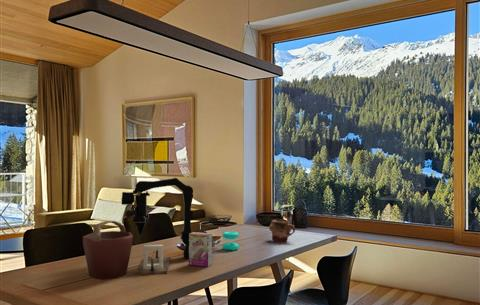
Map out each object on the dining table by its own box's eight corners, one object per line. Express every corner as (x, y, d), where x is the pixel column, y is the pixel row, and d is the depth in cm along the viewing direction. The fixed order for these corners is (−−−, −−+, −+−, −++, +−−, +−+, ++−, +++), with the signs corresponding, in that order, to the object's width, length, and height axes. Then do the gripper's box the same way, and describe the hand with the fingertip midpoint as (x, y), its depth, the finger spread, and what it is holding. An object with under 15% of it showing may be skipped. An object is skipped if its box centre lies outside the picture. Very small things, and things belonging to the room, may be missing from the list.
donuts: (221, 233, 261) (223, 231, 271) (221, 250, 261) (223, 247, 271) (237, 234, 260) (239, 231, 270) (237, 251, 260) (239, 247, 270)
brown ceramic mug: (299, 241, 290) (299, 220, 290) (291, 244, 280) (291, 222, 280) (273, 238, 301) (273, 218, 301) (264, 241, 291) (264, 220, 291)
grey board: (170, 258, 240) (170, 256, 240) (167, 273, 209) (167, 271, 209) (144, 259, 239) (144, 256, 239) (137, 274, 208) (137, 271, 208)
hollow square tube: (162, 266, 218) (163, 244, 218) (162, 269, 213) (162, 246, 213) (144, 266, 217) (144, 244, 217) (143, 269, 212) (143, 246, 212)
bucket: (102, 284, 192) (103, 226, 192) (70, 276, 203) (70, 222, 204) (142, 271, 212) (143, 220, 213) (111, 265, 224) (111, 216, 224)
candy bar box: (188, 265, 225) (188, 233, 225) (192, 263, 230) (192, 231, 230) (208, 267, 221) (208, 234, 222) (212, 265, 226) (212, 233, 226)
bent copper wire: (158, 257, 238) (158, 241, 238) (153, 271, 209) (153, 253, 209) (155, 257, 238) (155, 241, 238) (150, 271, 209) (151, 253, 209)
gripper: (128, 202, 247) (128, 230, 247) (123, 206, 228) (123, 236, 228) (148, 202, 248) (149, 230, 248) (144, 206, 229) (145, 236, 229)
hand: (141, 233), depth 238 cm, fingers open, 9 cm apart
